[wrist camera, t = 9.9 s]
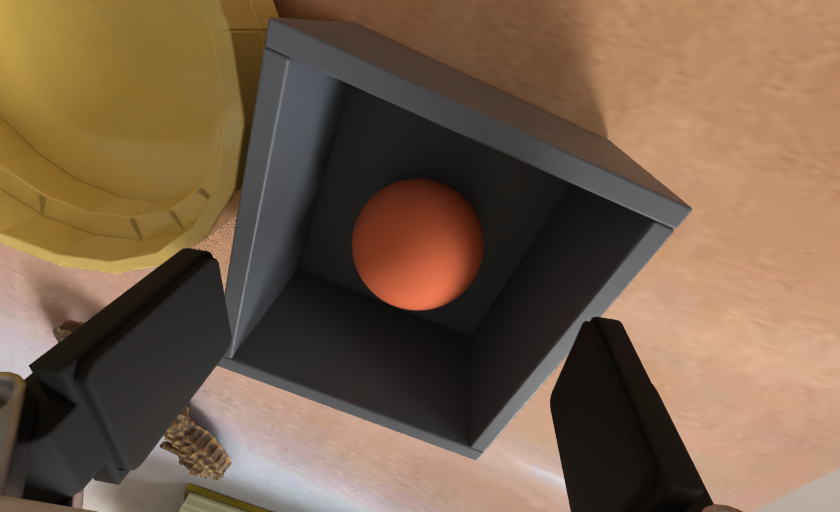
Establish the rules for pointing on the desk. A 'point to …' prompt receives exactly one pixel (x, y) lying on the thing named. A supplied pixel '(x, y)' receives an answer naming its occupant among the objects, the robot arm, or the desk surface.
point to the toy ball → (417, 244)
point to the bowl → (124, 125)
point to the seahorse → (181, 435)
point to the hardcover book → (213, 502)
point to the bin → (455, 167)
